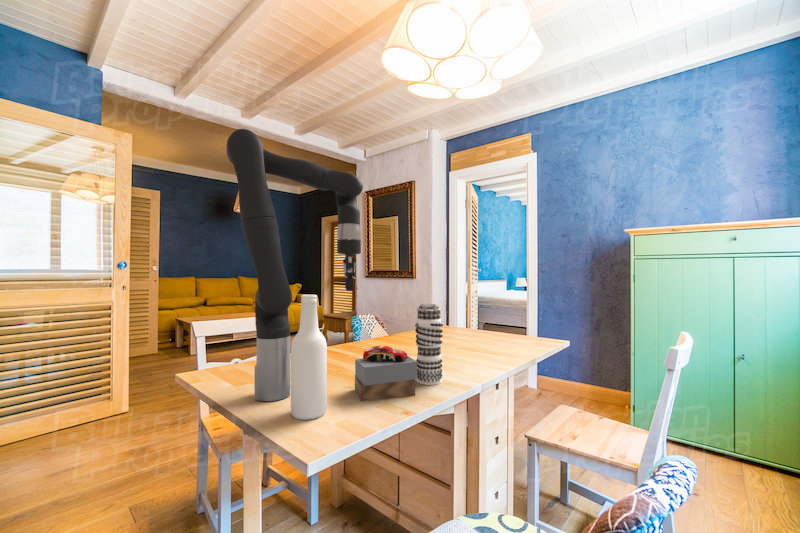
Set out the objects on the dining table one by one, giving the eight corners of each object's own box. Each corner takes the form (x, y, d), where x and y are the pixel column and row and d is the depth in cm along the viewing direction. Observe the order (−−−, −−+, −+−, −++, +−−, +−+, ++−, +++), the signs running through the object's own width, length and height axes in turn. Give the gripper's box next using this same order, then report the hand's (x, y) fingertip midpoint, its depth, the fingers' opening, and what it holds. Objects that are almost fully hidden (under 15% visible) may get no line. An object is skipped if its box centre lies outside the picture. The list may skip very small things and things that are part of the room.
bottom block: (360, 402, 97) (360, 384, 98) (354, 391, 107) (354, 374, 107) (415, 396, 102) (415, 379, 102) (405, 386, 112) (405, 370, 112)
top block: (364, 385, 97) (364, 367, 97) (355, 375, 106) (355, 359, 106) (417, 378, 103) (417, 361, 103) (404, 370, 112) (404, 354, 112)
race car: (408, 358, 107) (408, 345, 107) (406, 363, 101) (406, 349, 101) (365, 357, 108) (365, 344, 108) (361, 361, 103) (361, 348, 103)
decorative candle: (443, 376, 120) (442, 303, 120) (443, 385, 110) (443, 305, 111) (416, 376, 121) (415, 303, 121) (414, 384, 111) (414, 305, 112)
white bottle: (284, 413, 89) (284, 295, 89) (315, 404, 95) (315, 293, 96) (302, 424, 83) (302, 296, 83) (333, 413, 89) (333, 294, 89)
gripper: (336, 240, 119) (337, 289, 118) (337, 236, 105) (337, 291, 104) (359, 241, 120) (359, 288, 120) (362, 237, 106) (362, 290, 106)
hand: (349, 289), depth 112 cm, fingers open, 8 cm apart
